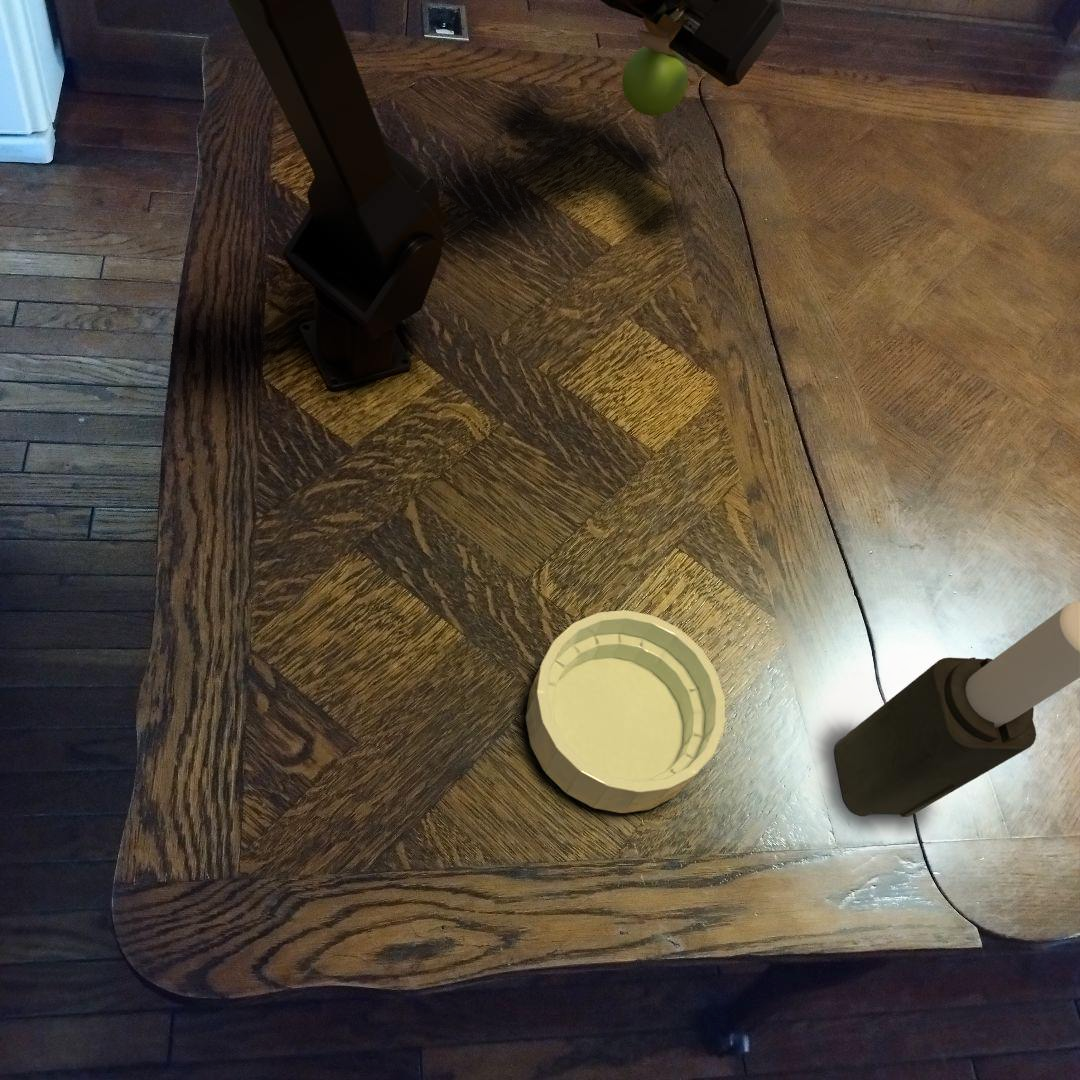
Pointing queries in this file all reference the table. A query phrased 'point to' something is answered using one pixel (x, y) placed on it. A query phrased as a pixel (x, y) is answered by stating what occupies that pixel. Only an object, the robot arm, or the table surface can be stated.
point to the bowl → (624, 711)
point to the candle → (956, 721)
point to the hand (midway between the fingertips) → (683, 32)
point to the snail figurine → (656, 70)
